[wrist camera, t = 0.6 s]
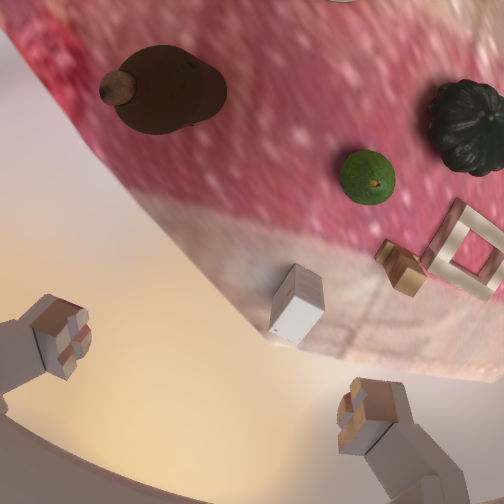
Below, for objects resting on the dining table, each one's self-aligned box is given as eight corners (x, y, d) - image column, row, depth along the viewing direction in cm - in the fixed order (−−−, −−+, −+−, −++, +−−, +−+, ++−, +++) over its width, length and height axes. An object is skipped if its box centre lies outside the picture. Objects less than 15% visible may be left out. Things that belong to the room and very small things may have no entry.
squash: (511, 186, 39) (549, 135, 25) (435, 197, 43) (459, 141, 29) (480, 116, 43) (501, 57, 29) (408, 122, 47) (416, 58, 33)
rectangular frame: (456, 197, 46) (467, 204, 43) (512, 239, 47) (522, 248, 44) (419, 259, 52) (426, 270, 49) (477, 292, 53) (485, 303, 50)
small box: (298, 309, 60) (297, 346, 50) (272, 295, 59) (267, 332, 50) (322, 276, 56) (326, 312, 47) (295, 262, 56) (294, 295, 46)
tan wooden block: (386, 238, 52) (400, 263, 44) (417, 255, 52) (434, 281, 44) (374, 257, 53) (385, 284, 45) (405, 273, 54) (419, 301, 46)
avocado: (378, 140, 45) (401, 152, 34) (389, 188, 48) (413, 212, 37) (329, 153, 47) (339, 167, 36) (343, 200, 50) (354, 228, 39)
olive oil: (187, 49, 42) (98, 16, 20) (244, 80, 44) (194, 57, 21) (154, 106, 47) (53, 118, 25) (208, 137, 48) (134, 168, 26)
